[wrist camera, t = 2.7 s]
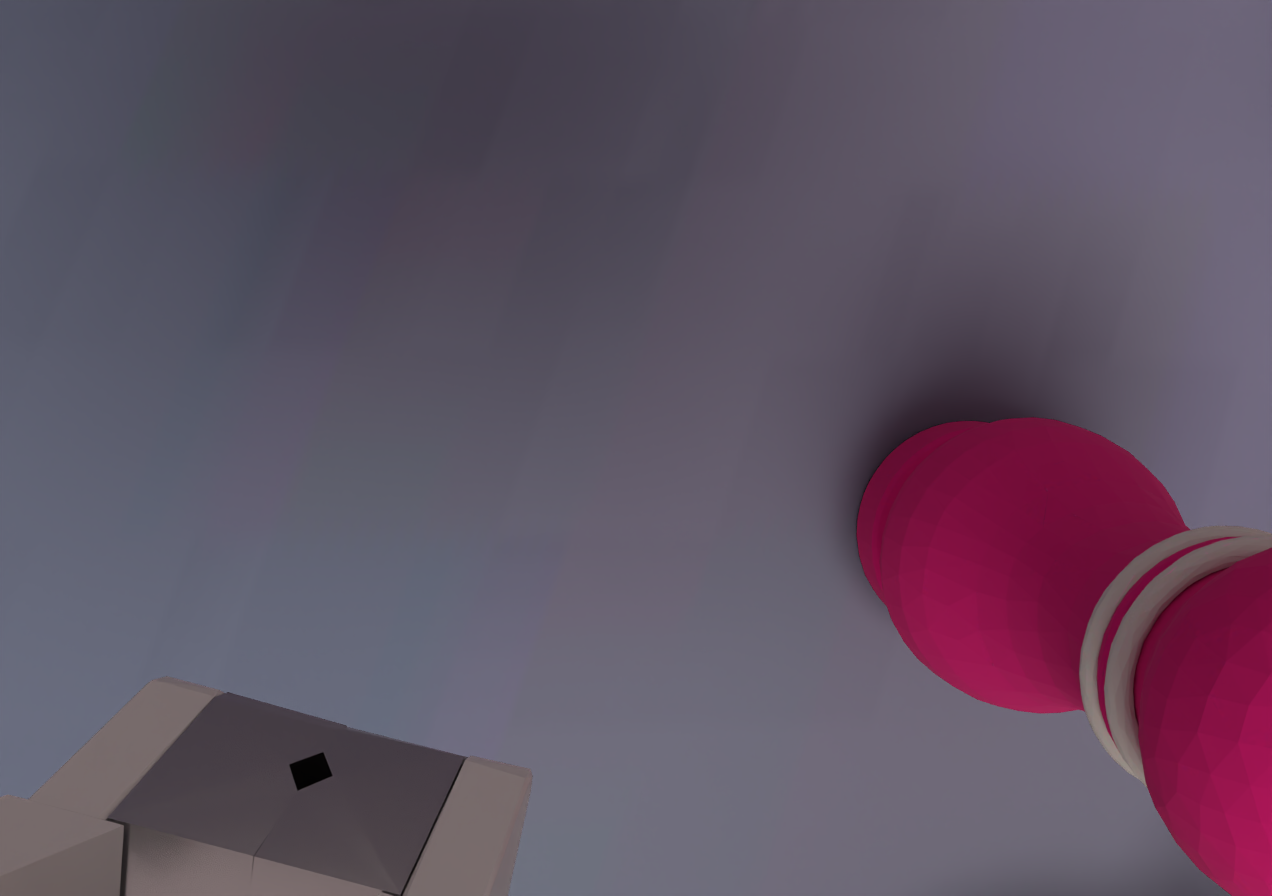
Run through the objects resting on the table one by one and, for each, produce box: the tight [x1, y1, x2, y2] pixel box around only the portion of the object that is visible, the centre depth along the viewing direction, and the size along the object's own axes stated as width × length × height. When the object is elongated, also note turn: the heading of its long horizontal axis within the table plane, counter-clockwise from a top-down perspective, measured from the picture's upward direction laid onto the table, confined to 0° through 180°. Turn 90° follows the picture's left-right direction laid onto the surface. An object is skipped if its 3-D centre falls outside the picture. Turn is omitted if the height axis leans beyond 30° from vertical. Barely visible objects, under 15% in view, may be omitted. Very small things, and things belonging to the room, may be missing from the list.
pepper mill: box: [857, 417, 1272, 896], centre depth 22 cm, size 7×7×20 cm
